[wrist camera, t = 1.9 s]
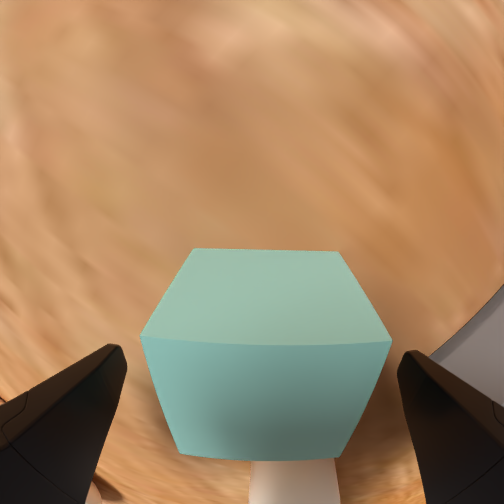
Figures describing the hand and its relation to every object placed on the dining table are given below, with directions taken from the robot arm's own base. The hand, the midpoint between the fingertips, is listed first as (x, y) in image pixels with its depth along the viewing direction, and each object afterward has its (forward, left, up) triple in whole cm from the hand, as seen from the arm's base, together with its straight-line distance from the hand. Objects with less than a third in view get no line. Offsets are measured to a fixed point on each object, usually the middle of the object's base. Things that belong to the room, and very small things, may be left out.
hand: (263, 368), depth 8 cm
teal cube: (0, 0, -3) cm, 3 cm away
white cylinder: (-9, +6, -3) cm, 11 cm away
